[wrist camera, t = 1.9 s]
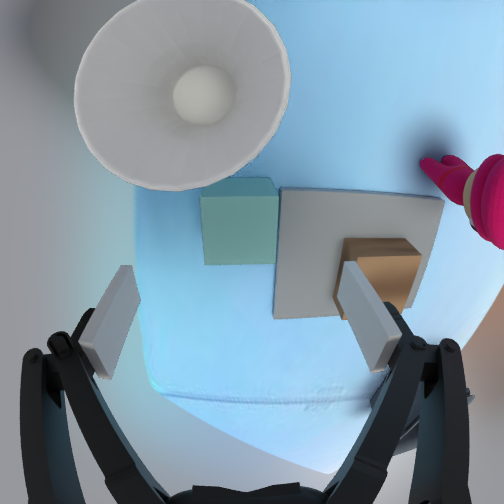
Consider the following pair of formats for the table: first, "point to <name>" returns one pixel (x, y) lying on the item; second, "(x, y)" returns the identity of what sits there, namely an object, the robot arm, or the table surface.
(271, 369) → the table surface
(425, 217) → the build plate
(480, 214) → the toy
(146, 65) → the cup
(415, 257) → the walnut brick
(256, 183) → the teal brick
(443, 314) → the table surface
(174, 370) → the table surface
